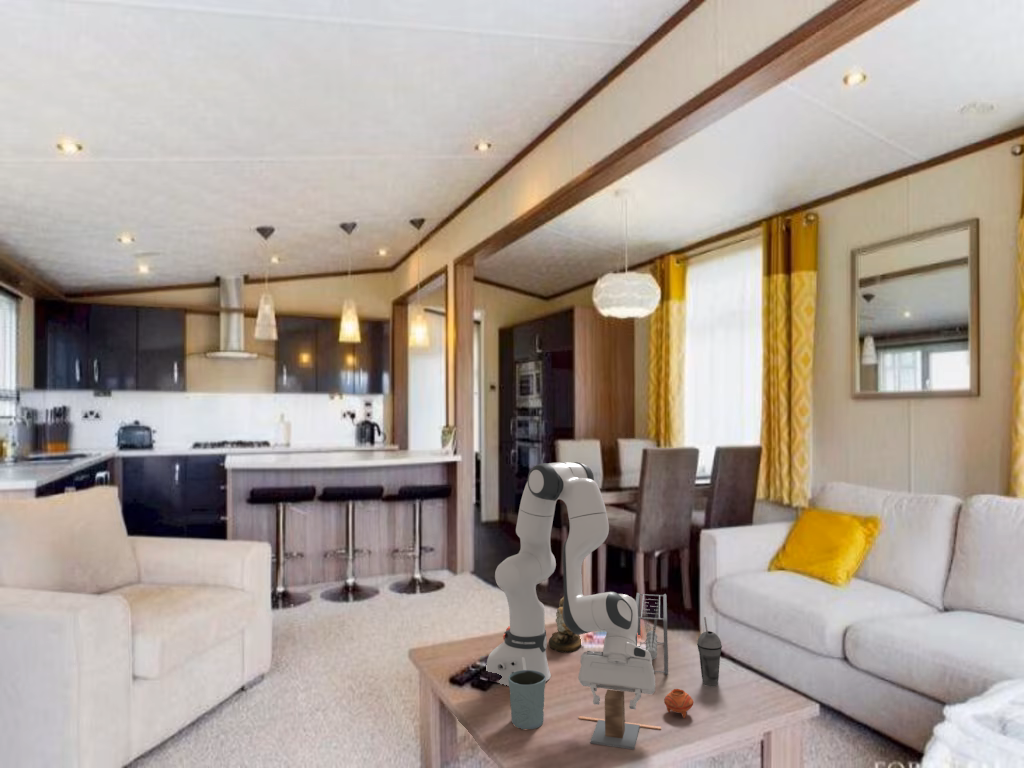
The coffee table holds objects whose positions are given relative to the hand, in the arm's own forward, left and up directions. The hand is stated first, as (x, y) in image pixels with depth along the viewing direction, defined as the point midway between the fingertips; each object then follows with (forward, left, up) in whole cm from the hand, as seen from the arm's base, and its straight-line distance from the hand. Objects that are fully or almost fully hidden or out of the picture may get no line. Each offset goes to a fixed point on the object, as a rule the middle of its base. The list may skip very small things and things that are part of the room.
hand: (614, 705), depth 171 cm
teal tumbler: (-24, +1, -8) cm, 25 cm away
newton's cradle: (+4, +55, -8) cm, 55 cm away
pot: (+15, +17, -8) cm, 24 cm away
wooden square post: (0, 0, -7) cm, 7 cm away
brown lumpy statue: (-27, +60, -8) cm, 66 cm away
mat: (0, 0, -7) cm, 8 cm away
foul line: (0, +7, -7) cm, 10 cm away
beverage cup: (+23, +39, -8) cm, 46 cm away
